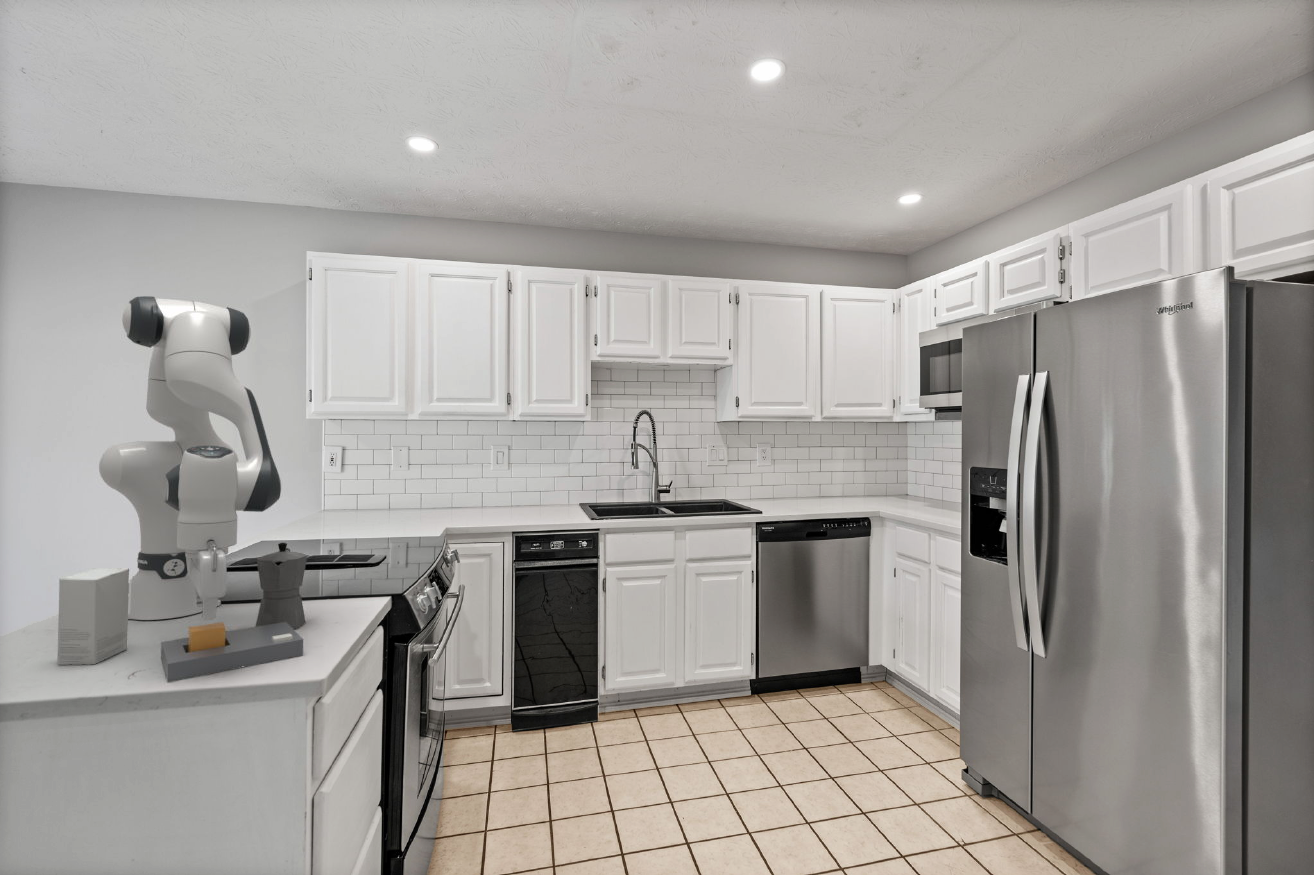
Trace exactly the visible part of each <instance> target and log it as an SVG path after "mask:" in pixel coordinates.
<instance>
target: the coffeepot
mask: <svg viewBox="0 0 1314 875" xmlns="http://www.w3.org/2000/svg"><path fill="white" fill-rule="evenodd" d="M277 545H278V551H276V552H272V553H267V554H265V555H262V556H259V557H256V563H257V571H258V577H259V584H260V589H261V590H262V591H263V592H262V594H263V595H262V598H261V599H260V604H259V608H258V613H257V618H256V623H255V627H257V626H263V625H270V624H276V623H282V622H287V623H288V624H289V625H290V626H291V627H292V628H293V629H294V630H296V629H300V628H302V627H303V626H304V625H305V624H306V616H305V612H304V611H305V610H304V606H303V601H302V595H301V594H300V587H301V586H303V581H304V575H305V571H306V565H307V560H308V554H304V553H303V552H299V551H298V552H297V551H291V549H290V548H288V547H287V545H288V543H286V542H280V543H277Z"/></svg>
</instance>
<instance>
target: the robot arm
mask: <svg viewBox="0 0 1314 875" xmlns="http://www.w3.org/2000/svg"><path fill="white" fill-rule="evenodd" d="M128 302H129V303H128V305H127V306H126V307H125V308H124V311H123V313H122V322H121V323H122V326H123V330H124V332H125V333H126V337H127V338H128V340H130V341H131V342H132V343H133V344H137V345H140V346H142V347H145V348H146V347H147V348H150V349H151V348H152V347H153V350H152V353H151V358H150V361H149V367H148V368H149V369H148V379H147V389H146V390H147V394H146V413H147V414H148V415H149V417H151V419H153V420H154V421H156V422H157V423H159V424H162V425H164V426H166V427H168V428H170V429H172V430H173V432H174V437H175V438H174V440H171V441H170V440H169V441H166V440H165V441H163V440H162V441H161V440H159V441H158V440H157V441H156V440H154V441H150V440H149V441H148V440H146V441H143V440H140V441H138V440H137V441H132V442H125V443H119V444H113V445H111V446H110V447H108V449H107V450H105V452H104V453H103V454H102V455H101V458H100V461H99V464H98V470H99V476H100V477H101V479H102V481H103V482H104V483H105V484H106V485H107V486H109V487H110V488H111V489H112V490H115V491H117V492H118V493H120V494H121V495H123V496H124V497H125V498H126V499H127V500H128V501H129V502H130V503H131V505H132V506H133V508H134V510H135V512H136V513H137V517H138V520H139V529H140V551H139V552H138V553H137V559H136V561H137V569H138V571H137V573H136V574H135V575H133V576H132V577H131V578H129V588H128V620H140V621H154V620H155V621H156V620H165V619H166V620H168V619H174V618H181V617H186V616H192V615H195V614H198V613H202V614H201V615H202V619H203V620H204V621H211V620H215V619H216V617H217V616H216V615H217V607H218V606H221V605H222V604H221V603H222V602H221V600H220V599H219V598H224V597H225V596H226V594H227V582H228V581H227V577H228V576H227V557H226V556H227V555H228V554H229V548H230V547H233V546H236V545H237V544H238V543H237V542H238V513H237V512H239V511H242V512H255V513H256V512H258V513H260V512H261V513H262V512H265V511H266V510H268V509H270V508H271V507H273V505H274V504H276V503H277V501H279V500H280V497H281V492H282V481H281V477H280V475H279V471H278V469H277V466H276V463H275V460H274V459H273V455H272V452H271V449H270V444H269V440H268V437H267V433H266V431H265V426H264V422H263V418H262V415H261V413H260V408H259V405H258V403H257V399H256V397H255V396H254V394H253V392H252V390H251V389H249V388H247V387H245V386H244V385H242V384H241V382H240V381H239V380H238V378H237V376H236V375H235V372H234V370H233V359H232V356H235V355H239V354H241V353H242V352H244V351H245V350H246V349H247V346H248V344H249V342H250V339H251V335H252V332H251V331H252V330H251V325H250V322H249V318H248V317H247V315H246V314H245V313H244V312H242V311H240V310H237V309H235V308H231V307H229V306H228V307H222V306H219V305H214V304H211V303H205V302H202V301H195V300H191V301H189V300H184V299H183V300H182V299H173V298H155V296H150V295H149V296H147V295H146V296H135V297H133V298H132V299H130V300H129V301H128ZM210 413H212V414H215V415H217V416H220V417H222V418H225V419H226V420H228V421H230V422H231V423H232V424H233V425H234V426H235V427H236V428H237V431H238V433H239V436H240V441H241V445H242V449H243V451H244V455H245V459H246V460H245V461H239V458H238V454H237V453H236V451H235V449H233V447H232V446H230V445H229V444H228V443H226V442H224V441H223V440H222V439H221V438H220V437H219V435H218V434H217V432H216V431H215V429H214V428H213V424H212V423H211V419H210Z"/></svg>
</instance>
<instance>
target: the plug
mask: <svg viewBox="0 0 1314 875" xmlns="http://www.w3.org/2000/svg"><path fill="white" fill-rule="evenodd" d="M225 632H226V626H225V624H224V622H222V621H221V622H220V621H219V622H215V623H209V624H202V625H195V626H194V625H193V626H189V627H188V638H189V646H188V652H194V651H199V650H205V649H211V648H217V647H222V646H225Z"/></svg>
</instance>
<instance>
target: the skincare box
mask: <svg viewBox="0 0 1314 875" xmlns="http://www.w3.org/2000/svg"><path fill="white" fill-rule="evenodd" d="M129 576H130V568H128V567H126V568H123V567H121V568H120V567H115V568H114V567H113V568H112V567H95V568H90V569H88V570H85V571H81V572H78V573H74V574H70V575H68V576H64V577H61V578H58V579H59V582H58V584H59V586H58V589H59V590H58V624H57V625H58V626H57V628H58V630H57V631H58V632H57V663H56V664H57V666H70V665H69V664H72V665H71V666H83V665H82V664H85V665H84V666H89V665H88V664H95V665H96V663H97V664H98V663H101V662H103V661H105V660H106V659H110V658H111V657H113V656H115V655H117V654H120V653H121V652H123V651H126V650H128V631H129V630H128V625H129V624H128V622H129V621H128V620H129V619H128V596H129V594H128V588H129V580H130V577H129ZM104 659H105V660H104ZM100 661H101V662H100ZM67 664H68V665H67ZM86 664H87V665H86Z"/></svg>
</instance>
